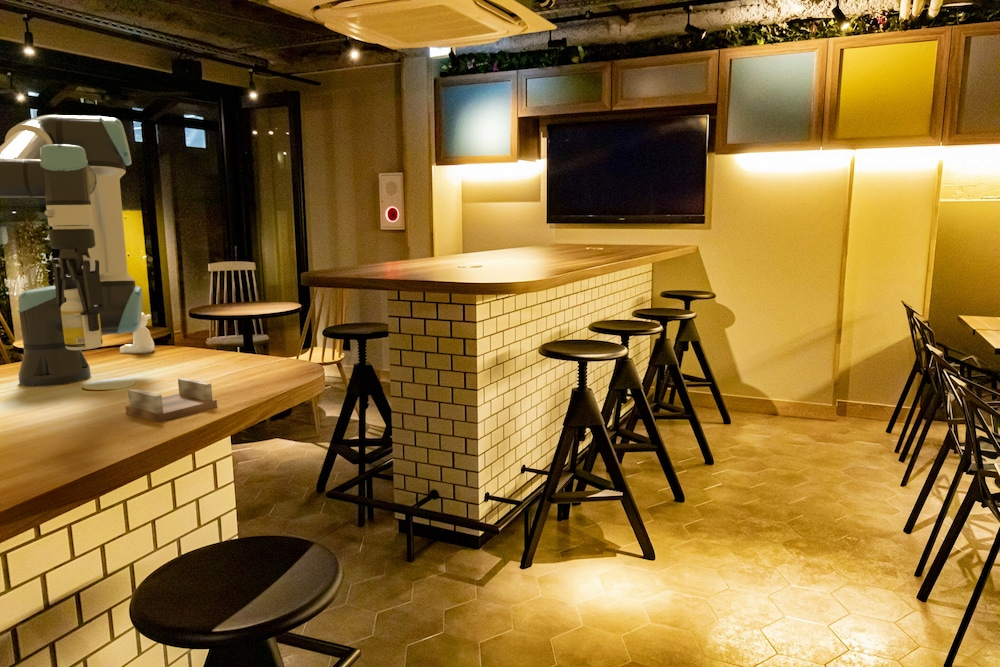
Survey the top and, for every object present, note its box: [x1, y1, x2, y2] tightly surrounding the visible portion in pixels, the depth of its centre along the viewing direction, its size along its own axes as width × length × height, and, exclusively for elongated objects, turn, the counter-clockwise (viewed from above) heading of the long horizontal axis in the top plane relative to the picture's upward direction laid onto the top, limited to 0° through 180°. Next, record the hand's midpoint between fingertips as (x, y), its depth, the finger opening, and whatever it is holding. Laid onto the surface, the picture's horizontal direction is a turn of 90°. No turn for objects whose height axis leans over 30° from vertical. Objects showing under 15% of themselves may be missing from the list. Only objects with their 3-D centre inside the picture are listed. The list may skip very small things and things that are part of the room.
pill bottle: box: [61, 289, 104, 351], centre depth 140 cm, size 6×6×12 cm
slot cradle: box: [124, 377, 218, 423], centre depth 149 cm, size 12×13×5 cm
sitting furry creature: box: [119, 312, 155, 354], centre depth 211 cm, size 10×9×12 cm
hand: (84, 345), depth 141 cm, fingers closed on pill bottle, 6 cm apart
